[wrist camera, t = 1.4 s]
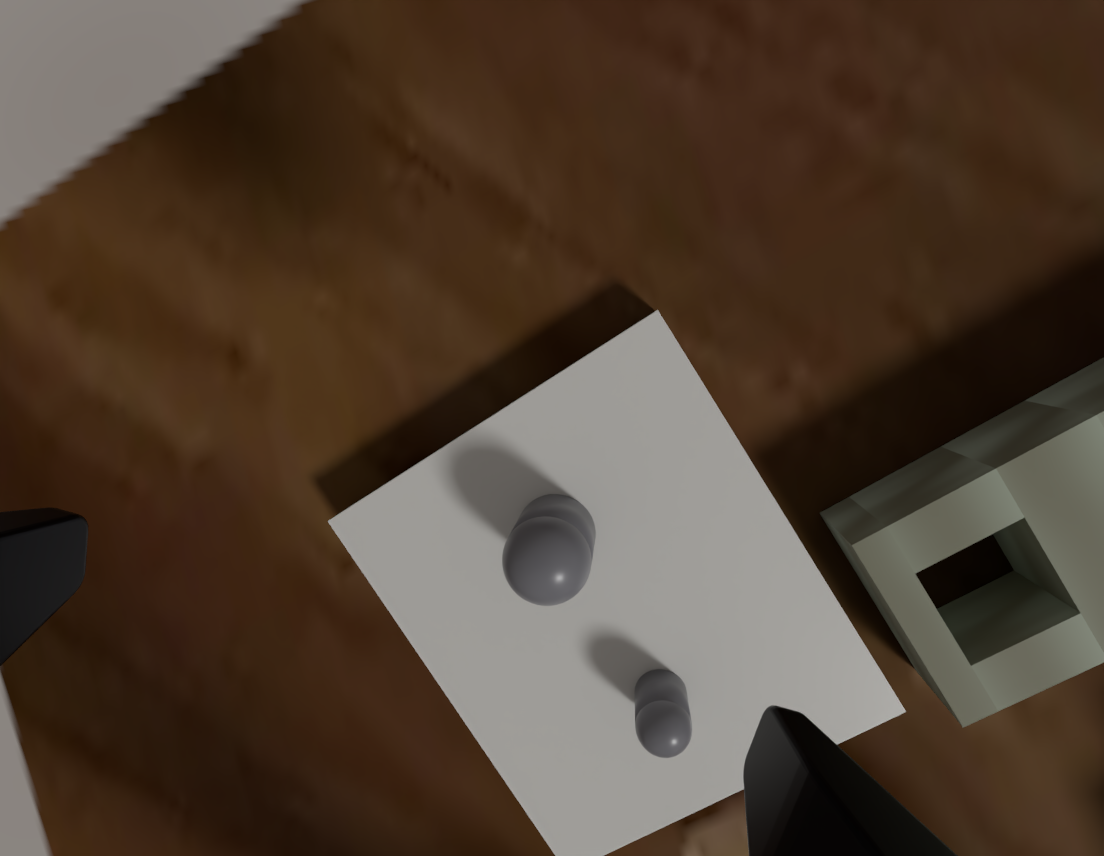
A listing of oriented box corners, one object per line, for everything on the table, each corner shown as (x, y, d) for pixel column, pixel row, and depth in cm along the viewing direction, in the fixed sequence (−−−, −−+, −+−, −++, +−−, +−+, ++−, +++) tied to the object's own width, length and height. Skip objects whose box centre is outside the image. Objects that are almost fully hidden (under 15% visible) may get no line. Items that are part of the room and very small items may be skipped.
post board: (886, 684, 21) (965, 795, 16) (571, 837, 23) (555, 976, 18) (655, 310, 20) (664, 307, 15) (347, 507, 22) (267, 560, 17)
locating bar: (1212, 297, 18) (1324, 292, 15) (1310, 478, 19) (1437, 507, 16) (819, 513, 20) (851, 545, 17) (915, 670, 21) (962, 727, 18)
